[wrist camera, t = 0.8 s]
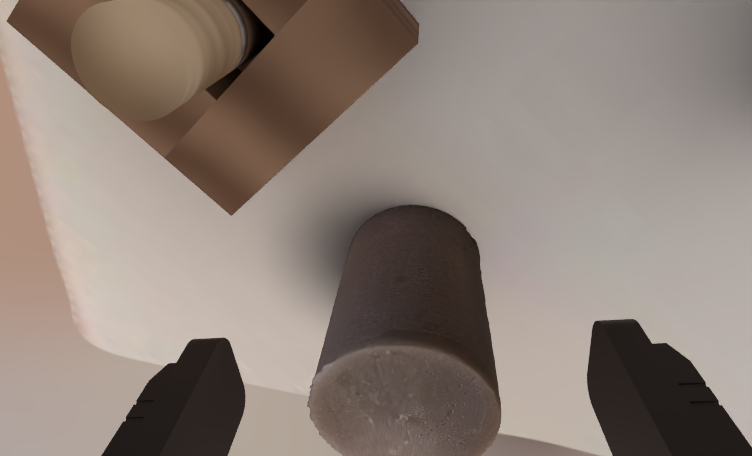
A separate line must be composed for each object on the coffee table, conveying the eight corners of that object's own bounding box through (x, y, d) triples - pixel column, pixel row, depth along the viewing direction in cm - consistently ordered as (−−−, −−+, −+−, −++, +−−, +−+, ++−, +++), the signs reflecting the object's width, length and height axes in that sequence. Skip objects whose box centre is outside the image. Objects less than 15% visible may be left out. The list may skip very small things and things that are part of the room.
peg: (235, -40, 26) (109, -28, 15) (291, 20, 27) (208, 69, 17) (191, 15, 27) (50, 60, 17) (245, 69, 29) (145, 142, 18)
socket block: (226, -211, 23) (169, -255, 18) (419, 24, 28) (417, 43, 22) (81, 6, 29) (6, 21, 24) (261, 173, 33) (231, 215, 28)
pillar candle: (505, 238, 34) (551, 415, 21) (440, 331, 39) (445, 523, 26) (378, 181, 33) (344, 333, 20) (327, 285, 38) (273, 462, 25)
